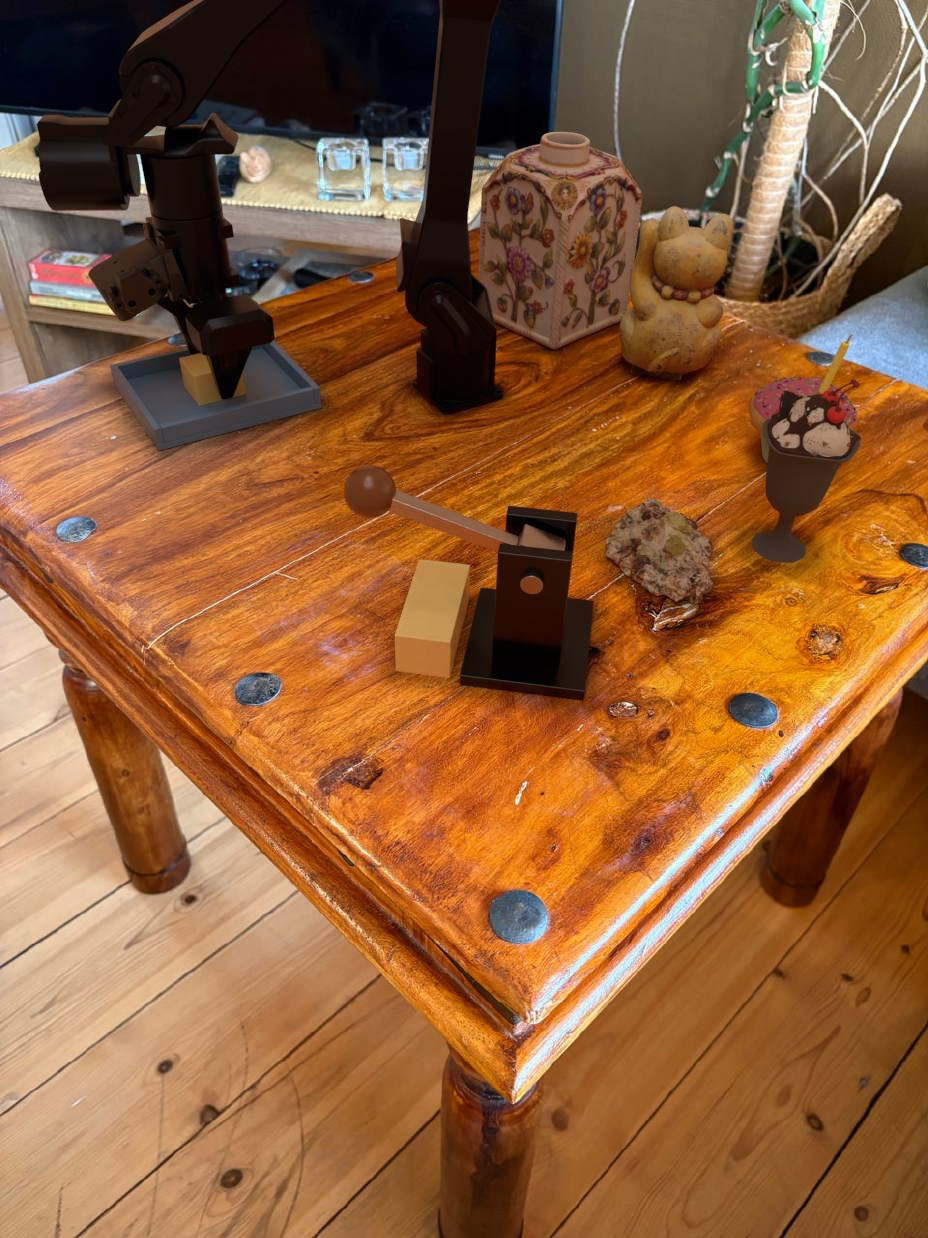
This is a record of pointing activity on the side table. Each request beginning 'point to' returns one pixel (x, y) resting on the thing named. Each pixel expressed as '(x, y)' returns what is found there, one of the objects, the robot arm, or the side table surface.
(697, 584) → the mineral rock
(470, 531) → the lever
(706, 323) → the decorative figurine
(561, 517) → the slicer
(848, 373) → the side table surface
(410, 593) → the tan rectangular block
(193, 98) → the robot arm
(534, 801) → the side table surface
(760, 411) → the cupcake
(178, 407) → the dish
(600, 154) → the decorative jar
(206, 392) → the butter pat
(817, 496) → the sundae
